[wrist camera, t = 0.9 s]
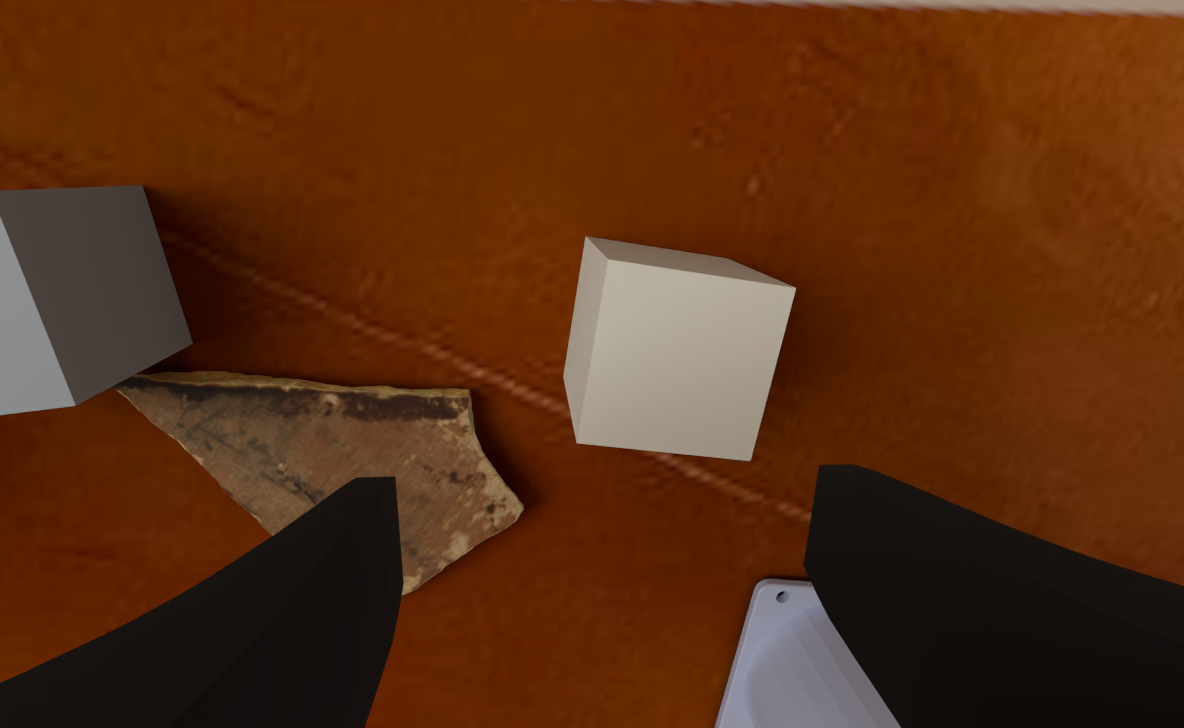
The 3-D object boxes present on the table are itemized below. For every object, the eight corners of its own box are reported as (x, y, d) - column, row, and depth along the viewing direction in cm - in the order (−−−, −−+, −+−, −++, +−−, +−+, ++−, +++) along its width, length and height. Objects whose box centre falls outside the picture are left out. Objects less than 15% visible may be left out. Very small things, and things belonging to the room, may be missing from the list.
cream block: (726, 258, 19) (796, 287, 14) (696, 392, 20) (750, 460, 15) (585, 235, 18) (608, 259, 13) (563, 376, 19) (576, 443, 15)
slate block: (143, 185, 16) (-11, 190, 12) (194, 343, 18) (75, 405, 13) (-33, 202, 16) (-265, 216, 11) (32, 362, 17) (-149, 433, 13)
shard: (131, 361, 18) (91, 380, 16) (328, 210, 17) (308, 214, 16) (376, 593, 21) (363, 629, 20) (549, 473, 21) (551, 500, 19)
